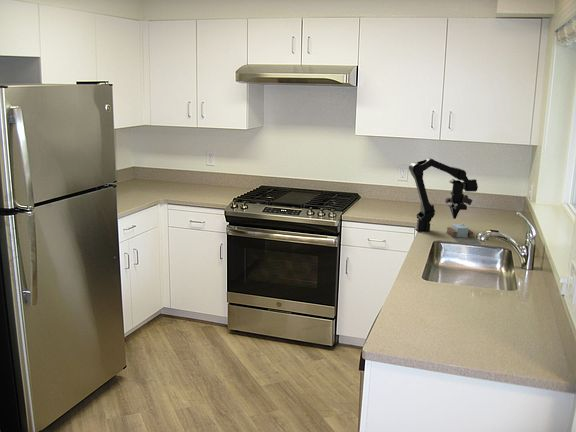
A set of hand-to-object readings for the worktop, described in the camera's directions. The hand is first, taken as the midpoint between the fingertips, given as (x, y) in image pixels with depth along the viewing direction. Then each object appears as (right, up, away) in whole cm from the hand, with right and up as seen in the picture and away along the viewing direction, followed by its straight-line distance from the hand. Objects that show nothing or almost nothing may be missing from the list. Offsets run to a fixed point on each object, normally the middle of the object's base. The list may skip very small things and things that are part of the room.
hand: (454, 218), depth 334 cm
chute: (+1, -9, -8) cm, 12 cm away
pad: (+1, -12, -19) cm, 22 cm away
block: (+1, -9, -8) cm, 12 cm away
